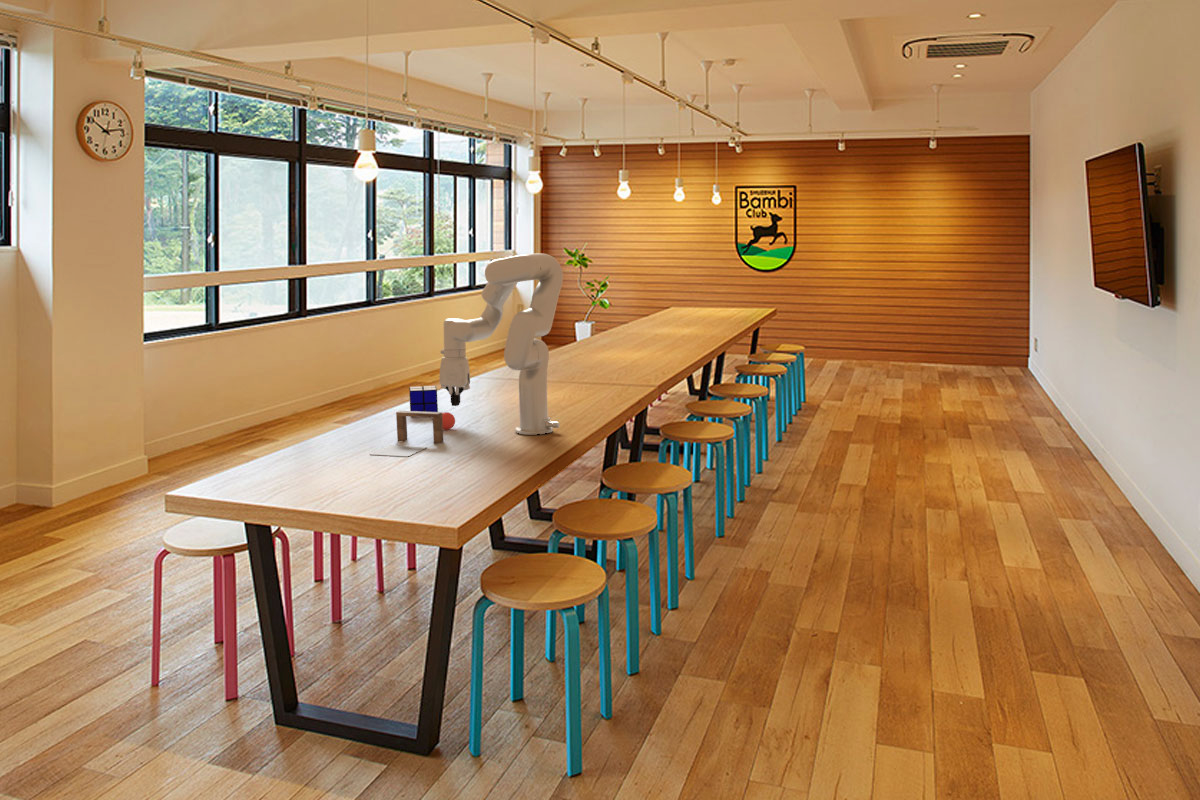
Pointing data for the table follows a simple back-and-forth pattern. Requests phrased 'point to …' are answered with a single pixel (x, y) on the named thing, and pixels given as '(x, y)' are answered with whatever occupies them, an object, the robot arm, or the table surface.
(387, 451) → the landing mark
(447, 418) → the ball
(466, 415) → the table surface
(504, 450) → the table surface
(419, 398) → the puzzle cube
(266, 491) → the table surface
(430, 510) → the table surface
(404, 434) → the bridge
